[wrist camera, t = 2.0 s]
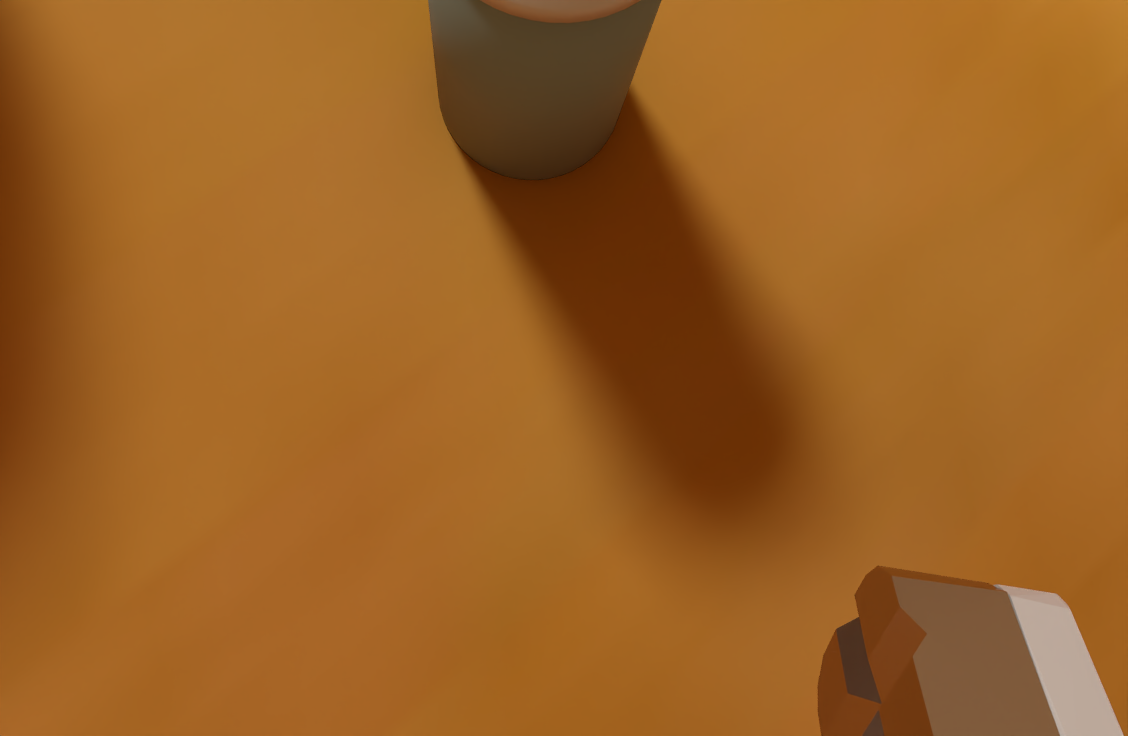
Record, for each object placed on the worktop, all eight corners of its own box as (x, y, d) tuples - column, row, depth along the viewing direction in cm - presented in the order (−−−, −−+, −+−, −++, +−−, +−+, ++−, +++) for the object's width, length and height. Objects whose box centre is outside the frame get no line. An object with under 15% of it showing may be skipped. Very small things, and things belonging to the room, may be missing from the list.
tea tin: (629, 6, 32) (711, -261, 21) (622, 190, 32) (703, 19, 20) (438, -9, 32) (415, -288, 21) (427, 178, 31) (397, -3, 20)
